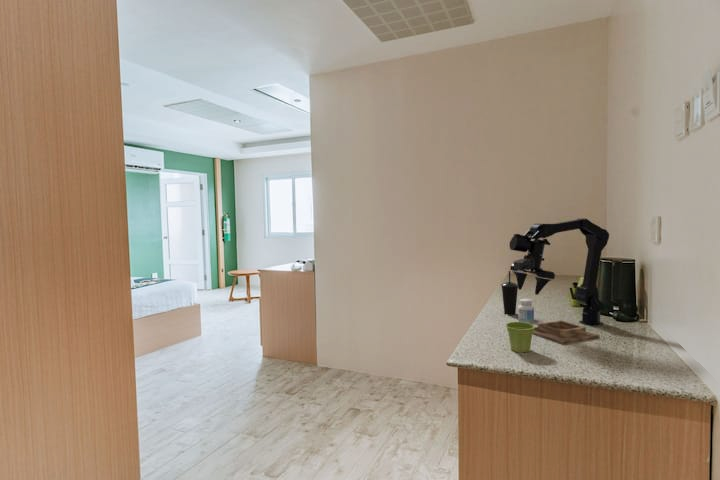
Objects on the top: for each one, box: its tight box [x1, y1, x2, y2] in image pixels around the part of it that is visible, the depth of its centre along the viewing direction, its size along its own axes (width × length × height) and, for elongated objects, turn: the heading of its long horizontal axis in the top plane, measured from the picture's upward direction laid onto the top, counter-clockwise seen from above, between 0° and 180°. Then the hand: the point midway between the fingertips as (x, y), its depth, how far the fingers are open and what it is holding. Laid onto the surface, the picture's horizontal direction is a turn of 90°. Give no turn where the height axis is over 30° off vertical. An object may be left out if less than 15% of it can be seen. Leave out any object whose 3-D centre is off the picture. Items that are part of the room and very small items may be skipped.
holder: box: [532, 320, 600, 345], centre depth 159 cm, size 18×18×4 cm
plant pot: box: [505, 321, 536, 354], centre depth 143 cm, size 9×9×9 cm
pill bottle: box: [517, 298, 535, 326], centre depth 170 cm, size 6×6×11 cm
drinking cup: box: [500, 270, 519, 316], centre depth 192 cm, size 8×8×20 cm
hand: (527, 292), depth 169 cm, fingers open, 9 cm apart
